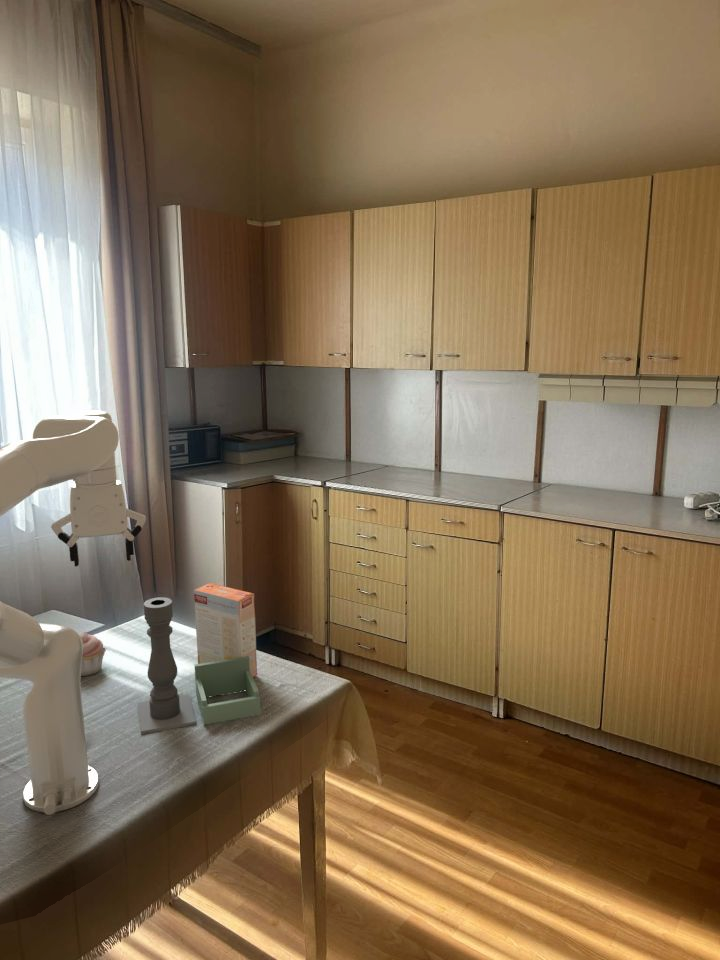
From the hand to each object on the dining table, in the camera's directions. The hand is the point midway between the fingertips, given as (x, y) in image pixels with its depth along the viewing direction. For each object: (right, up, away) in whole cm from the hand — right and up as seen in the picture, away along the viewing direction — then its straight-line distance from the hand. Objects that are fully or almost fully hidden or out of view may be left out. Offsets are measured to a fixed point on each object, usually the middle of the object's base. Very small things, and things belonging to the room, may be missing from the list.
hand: (103, 561), depth 143 cm
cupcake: (-15, -30, +33) cm, 47 cm away
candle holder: (+9, -34, +13) cm, 37 cm away
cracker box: (+19, -30, +31) cm, 47 cm away
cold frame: (+21, -33, +16) cm, 43 cm away
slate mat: (+9, -34, +13) cm, 38 cm away
